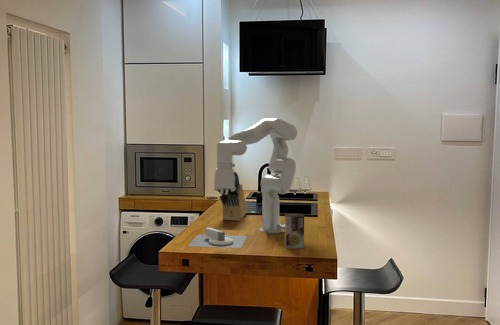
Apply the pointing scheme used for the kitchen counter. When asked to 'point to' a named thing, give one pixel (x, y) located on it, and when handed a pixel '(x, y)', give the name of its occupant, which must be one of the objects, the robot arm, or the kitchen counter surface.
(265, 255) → the kitchen counter surface
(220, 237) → the dial
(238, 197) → the knife block
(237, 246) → the dial board
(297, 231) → the coffee box
